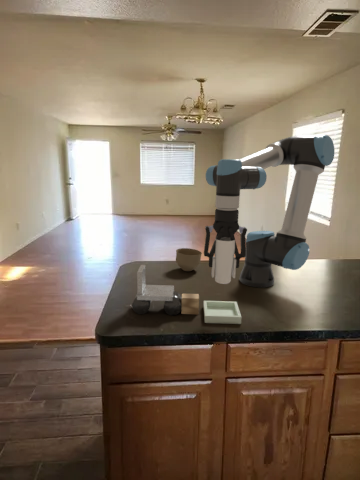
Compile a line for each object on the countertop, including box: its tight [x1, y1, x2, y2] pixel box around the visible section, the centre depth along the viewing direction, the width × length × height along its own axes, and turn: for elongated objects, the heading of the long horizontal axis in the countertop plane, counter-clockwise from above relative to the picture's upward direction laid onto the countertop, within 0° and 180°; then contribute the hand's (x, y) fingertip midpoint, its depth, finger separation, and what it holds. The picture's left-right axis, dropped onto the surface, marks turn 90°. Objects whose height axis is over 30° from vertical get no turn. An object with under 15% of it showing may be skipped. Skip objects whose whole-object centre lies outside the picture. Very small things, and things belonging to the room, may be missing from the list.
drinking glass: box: [214, 237, 236, 285], centre depth 105 cm, size 7×7×15 cm
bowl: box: [175, 247, 203, 272], centre depth 155 cm, size 13×13×10 cm
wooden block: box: [180, 293, 200, 315], centre depth 112 cm, size 6×4×6 cm, turn 88°
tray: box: [202, 300, 243, 325], centre depth 110 cm, size 12×12×2 cm
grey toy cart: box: [131, 264, 182, 316], centre depth 111 cm, size 17×10×16 cm, turn 88°
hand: (223, 276), depth 107 cm, fingers closed on drinking glass, 6 cm apart
